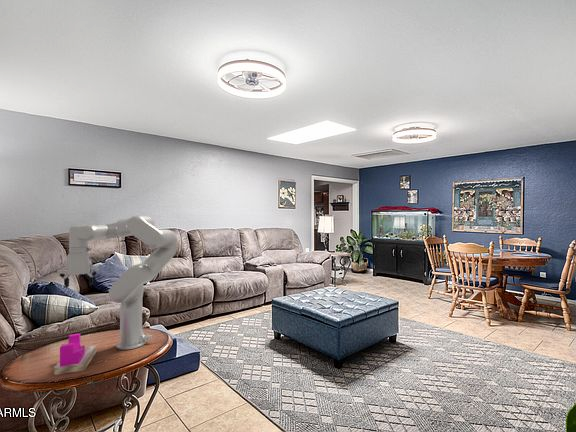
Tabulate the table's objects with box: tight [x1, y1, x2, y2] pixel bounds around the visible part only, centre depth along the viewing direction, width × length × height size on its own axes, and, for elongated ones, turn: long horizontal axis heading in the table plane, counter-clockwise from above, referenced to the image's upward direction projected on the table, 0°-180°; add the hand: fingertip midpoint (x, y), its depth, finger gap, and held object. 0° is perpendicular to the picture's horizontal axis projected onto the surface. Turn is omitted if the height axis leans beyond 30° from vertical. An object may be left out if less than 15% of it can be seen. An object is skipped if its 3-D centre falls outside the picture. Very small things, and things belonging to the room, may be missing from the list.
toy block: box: [59, 333, 86, 367], centre depth 129 cm, size 15×6×8 cm, turn 22°
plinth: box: [53, 345, 97, 376], centre depth 131 cm, size 10×19×3 cm, turn 20°
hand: (78, 286), depth 152 cm, fingers open, 9 cm apart
